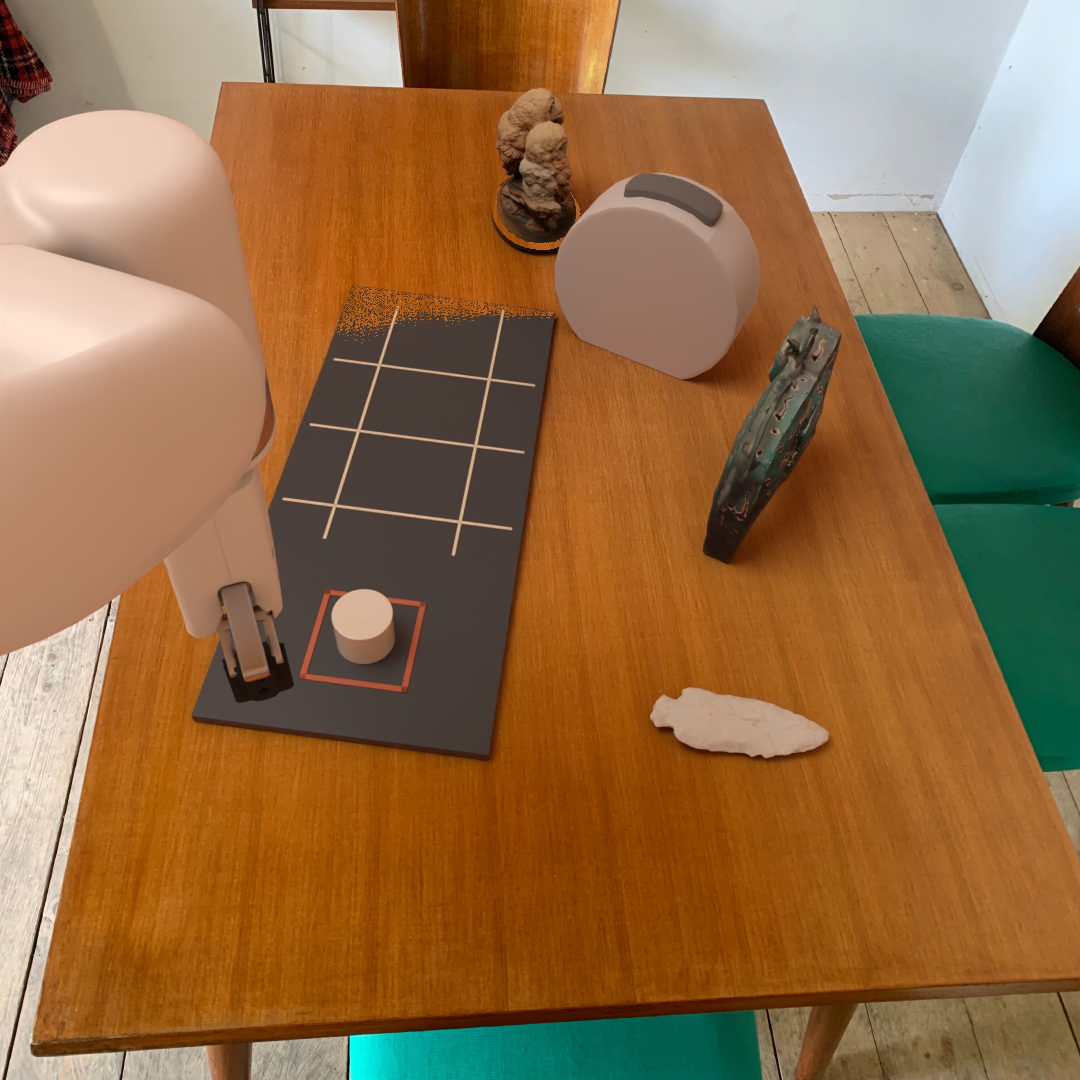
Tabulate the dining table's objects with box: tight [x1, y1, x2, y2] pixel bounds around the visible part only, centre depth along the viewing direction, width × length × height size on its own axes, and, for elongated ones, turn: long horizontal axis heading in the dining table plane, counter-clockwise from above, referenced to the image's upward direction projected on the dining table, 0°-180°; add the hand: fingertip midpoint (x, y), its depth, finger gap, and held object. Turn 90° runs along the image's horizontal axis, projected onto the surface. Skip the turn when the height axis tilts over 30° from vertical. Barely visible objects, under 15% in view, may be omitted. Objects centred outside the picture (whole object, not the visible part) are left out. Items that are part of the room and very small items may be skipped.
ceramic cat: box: [702, 304, 842, 564], centre depth 85 cm, size 20×6×20 cm, turn 152°
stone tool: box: [649, 686, 830, 759], centre depth 77 cm, size 6×2×15 cm
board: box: [191, 284, 556, 761], centre depth 91 cm, size 56×24×1 cm, turn 174°
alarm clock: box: [554, 172, 762, 380], centre depth 99 cm, size 21×8×20 cm, turn 63°
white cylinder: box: [331, 589, 395, 664], centre depth 77 cm, size 5×5×4 cm
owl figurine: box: [490, 87, 576, 253], centre depth 113 cm, size 18×12×17 cm, turn 7°
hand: (247, 622), depth 54 cm, fingers open, 9 cm apart
